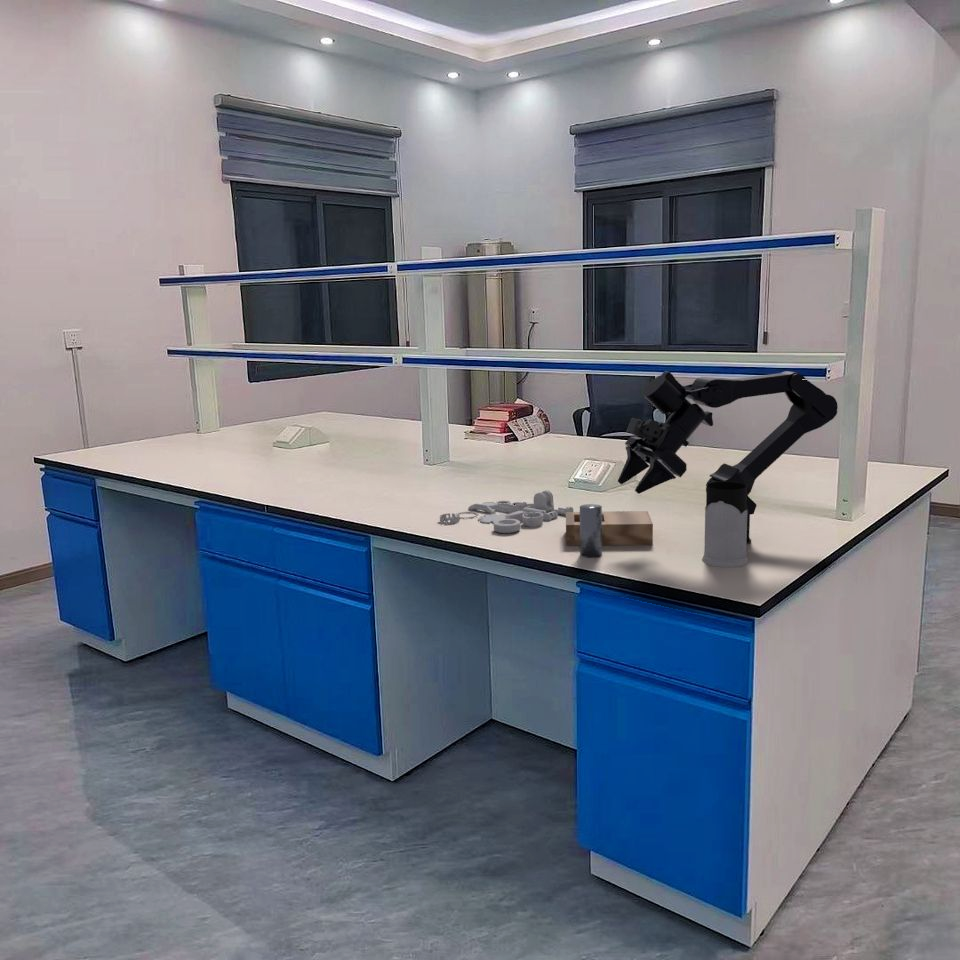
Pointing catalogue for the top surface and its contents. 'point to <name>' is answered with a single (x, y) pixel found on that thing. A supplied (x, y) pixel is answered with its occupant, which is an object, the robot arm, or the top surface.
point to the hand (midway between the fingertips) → (627, 487)
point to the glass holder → (725, 524)
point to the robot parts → (514, 513)
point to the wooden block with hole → (615, 528)
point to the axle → (591, 530)
